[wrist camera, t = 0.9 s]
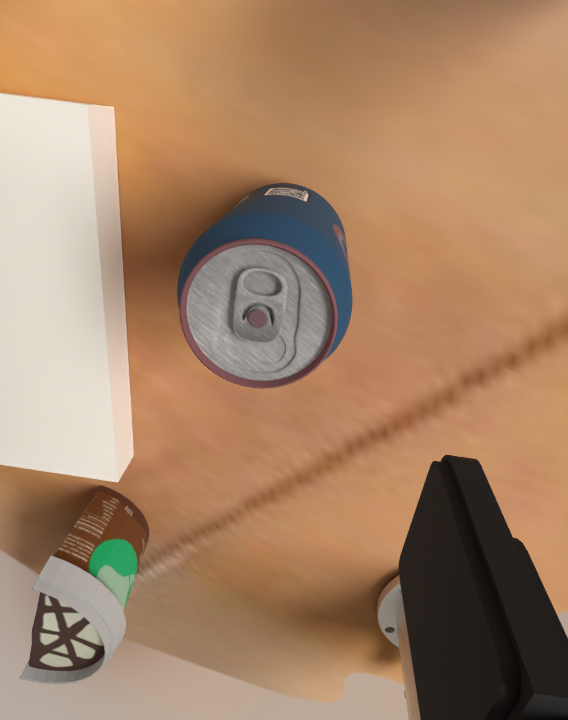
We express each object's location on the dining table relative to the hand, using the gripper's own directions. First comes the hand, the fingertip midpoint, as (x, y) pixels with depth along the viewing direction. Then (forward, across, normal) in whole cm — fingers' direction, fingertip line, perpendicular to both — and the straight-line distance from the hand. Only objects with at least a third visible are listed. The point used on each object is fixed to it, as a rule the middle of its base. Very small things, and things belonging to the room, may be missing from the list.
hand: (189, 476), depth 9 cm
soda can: (+20, 0, 0) cm, 20 cm away
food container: (+20, +11, +27) cm, 36 cm away
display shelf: (+20, +17, +6) cm, 27 cm away
